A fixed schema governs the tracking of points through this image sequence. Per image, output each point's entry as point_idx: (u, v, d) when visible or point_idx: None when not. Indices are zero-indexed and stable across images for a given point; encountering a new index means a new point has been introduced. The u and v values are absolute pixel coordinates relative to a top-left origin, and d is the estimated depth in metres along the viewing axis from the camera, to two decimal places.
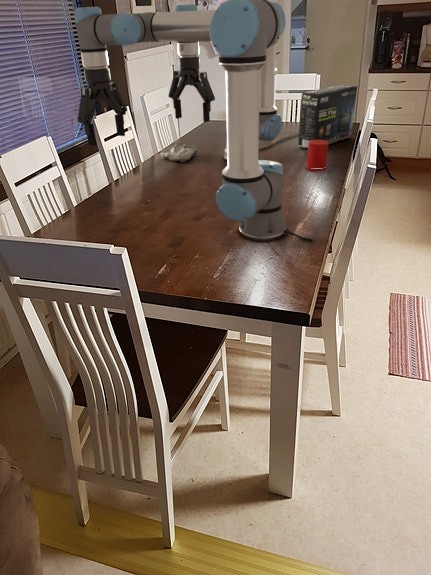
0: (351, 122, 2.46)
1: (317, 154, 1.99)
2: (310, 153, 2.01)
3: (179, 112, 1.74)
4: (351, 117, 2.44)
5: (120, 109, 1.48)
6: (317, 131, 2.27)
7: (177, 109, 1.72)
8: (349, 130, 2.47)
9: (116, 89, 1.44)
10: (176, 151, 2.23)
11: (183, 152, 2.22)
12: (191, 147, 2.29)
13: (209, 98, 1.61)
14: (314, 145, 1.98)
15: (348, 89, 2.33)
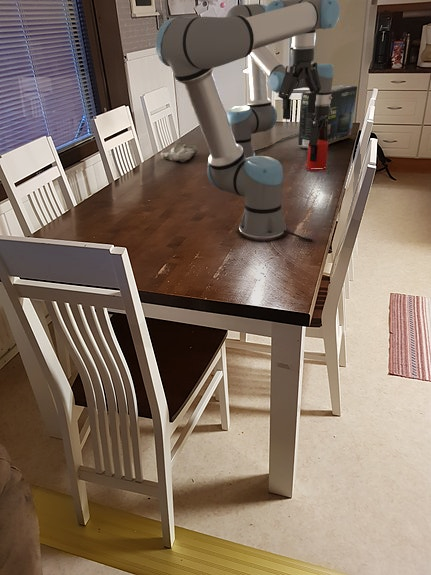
0: (351, 122, 2.46)
1: (317, 154, 1.99)
2: None
3: None
4: (351, 117, 2.44)
5: (315, 88, 1.60)
6: None
7: None
8: (349, 130, 2.47)
9: (315, 69, 1.57)
10: (176, 151, 2.23)
11: (183, 152, 2.22)
12: (191, 147, 2.29)
13: (327, 136, 2.05)
14: None
15: (348, 89, 2.33)
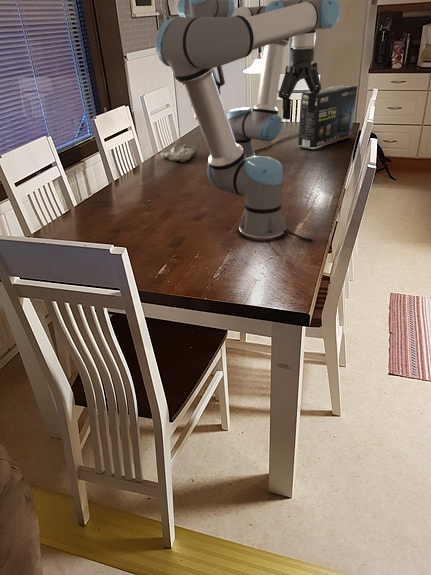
0: (351, 122, 2.46)
1: None
2: None
3: None
4: (351, 117, 2.44)
5: (315, 88, 1.60)
6: (317, 131, 2.27)
7: None
8: (349, 130, 2.47)
9: (315, 69, 1.57)
10: (176, 151, 2.23)
11: (183, 152, 2.22)
12: (191, 147, 2.29)
13: (221, 82, 1.70)
14: None
15: (348, 89, 2.33)
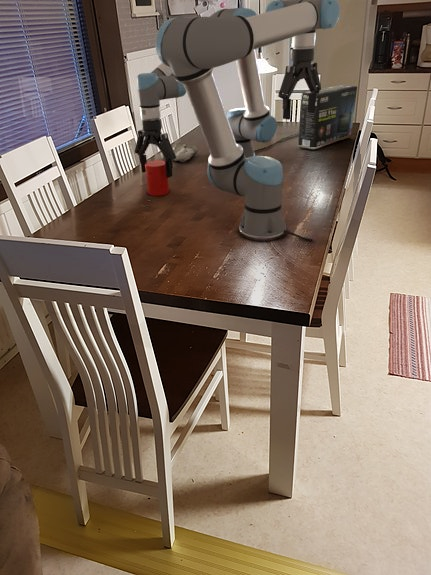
0: (351, 122, 2.46)
1: None
2: None
3: None
4: (351, 117, 2.44)
5: (315, 88, 1.60)
6: (317, 131, 2.27)
7: (143, 164, 1.85)
8: (349, 130, 2.47)
9: (315, 69, 1.57)
10: (176, 151, 2.23)
11: (183, 152, 2.22)
12: (191, 147, 2.29)
13: (170, 157, 1.73)
14: None
15: (348, 89, 2.33)
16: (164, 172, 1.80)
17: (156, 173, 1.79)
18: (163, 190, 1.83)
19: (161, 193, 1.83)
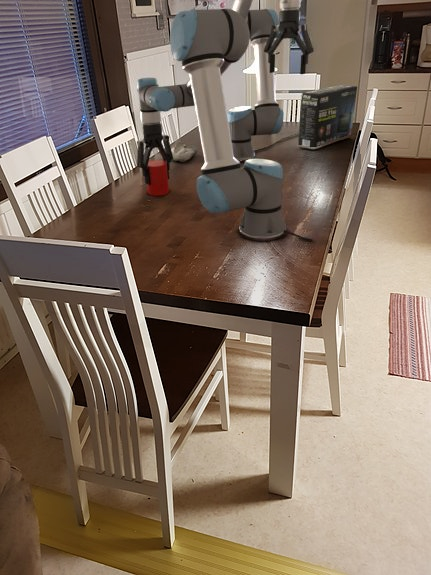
0: (351, 122, 2.46)
1: None
2: None
3: (273, 67, 1.81)
4: (351, 117, 2.44)
5: (167, 158, 1.82)
6: (317, 131, 2.27)
7: (272, 63, 1.80)
8: (349, 130, 2.47)
9: (167, 140, 1.80)
10: (176, 151, 2.23)
11: (183, 152, 2.22)
12: (191, 147, 2.29)
13: (309, 50, 1.68)
14: None
15: (348, 89, 2.33)
16: (164, 172, 1.80)
17: (156, 173, 1.79)
18: (163, 190, 1.83)
19: (161, 193, 1.83)
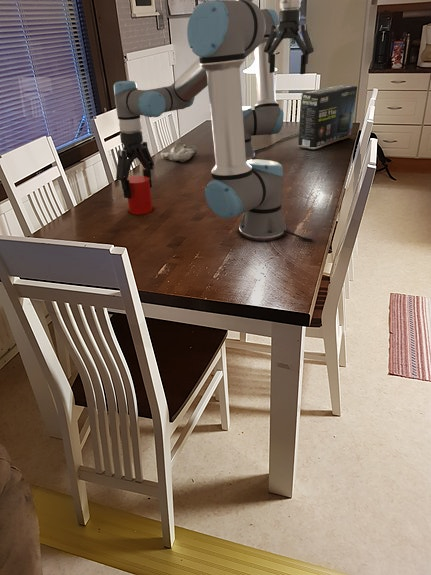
0: (351, 122, 2.46)
1: None
2: None
3: (273, 67, 1.81)
4: (351, 117, 2.44)
5: (148, 165, 1.67)
6: (317, 131, 2.27)
7: (272, 63, 1.80)
8: (349, 130, 2.47)
9: (146, 147, 1.64)
10: (176, 151, 2.23)
11: (183, 152, 2.22)
12: (191, 147, 2.29)
13: (309, 50, 1.68)
14: None
15: (348, 89, 2.33)
16: (148, 188, 1.65)
17: (141, 190, 1.62)
18: (149, 207, 1.68)
19: (147, 211, 1.67)
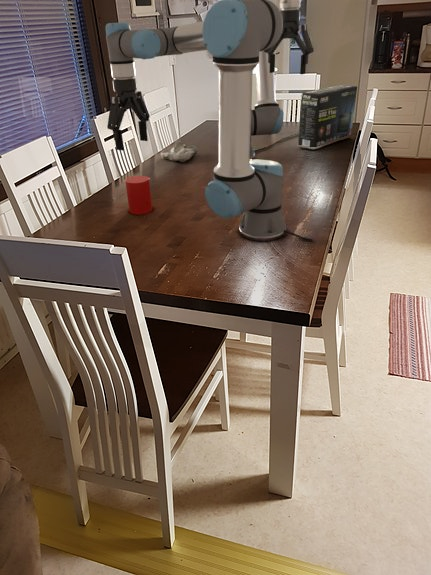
0: (351, 122, 2.46)
1: None
2: None
3: (273, 67, 1.81)
4: (351, 117, 2.44)
5: (144, 116, 1.59)
6: (317, 131, 2.27)
7: (272, 63, 1.80)
8: (349, 130, 2.47)
9: (140, 97, 1.55)
10: (176, 151, 2.23)
11: (183, 152, 2.22)
12: (191, 147, 2.29)
13: (309, 50, 1.68)
14: None
15: (348, 89, 2.33)
16: (148, 188, 1.65)
17: (141, 190, 1.62)
18: (149, 207, 1.68)
19: (147, 211, 1.67)
